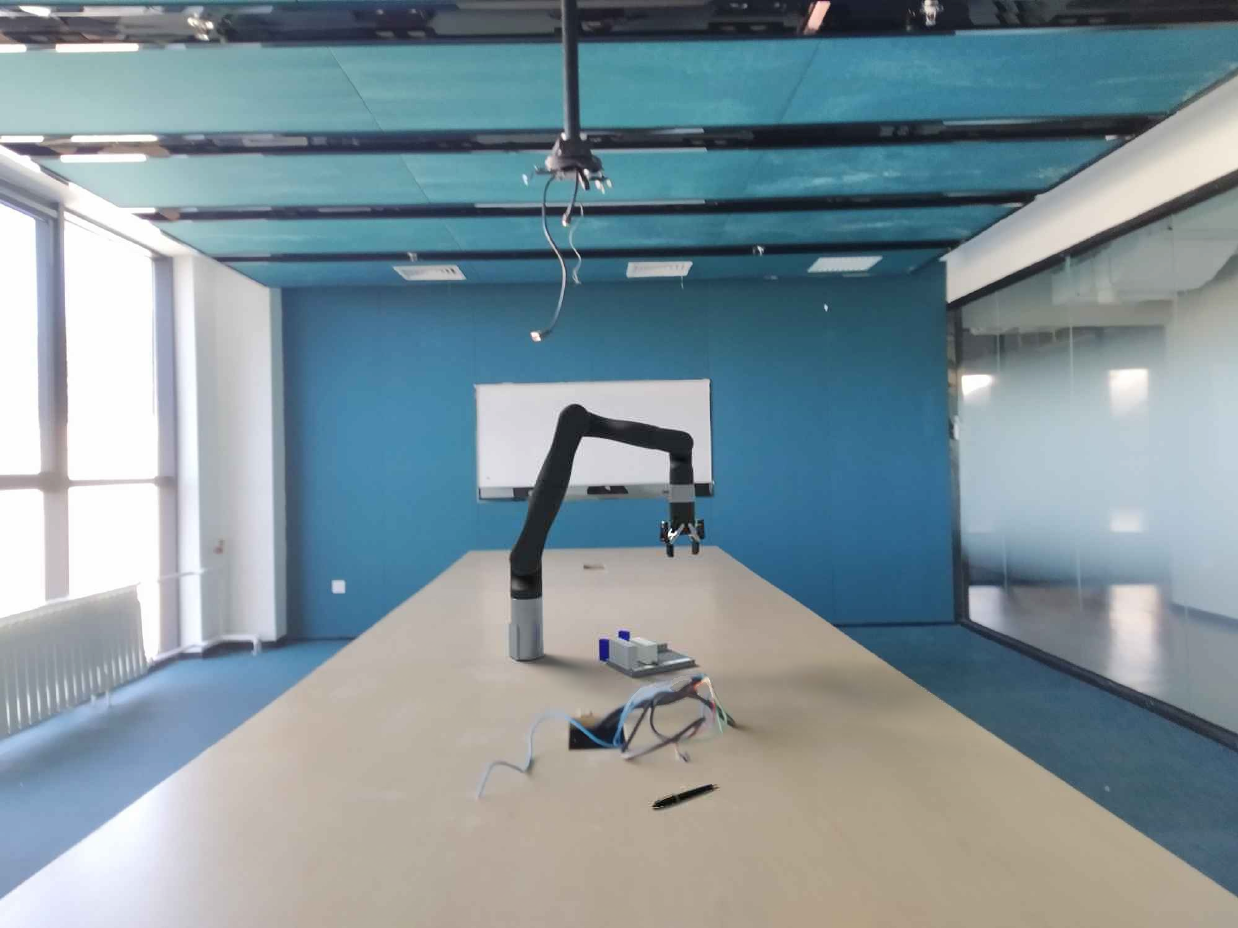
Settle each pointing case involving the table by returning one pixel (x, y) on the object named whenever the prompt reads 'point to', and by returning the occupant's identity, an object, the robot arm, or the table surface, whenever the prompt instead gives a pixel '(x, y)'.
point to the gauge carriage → (645, 650)
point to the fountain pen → (681, 796)
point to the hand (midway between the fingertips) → (683, 555)
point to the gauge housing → (627, 662)
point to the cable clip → (605, 644)
